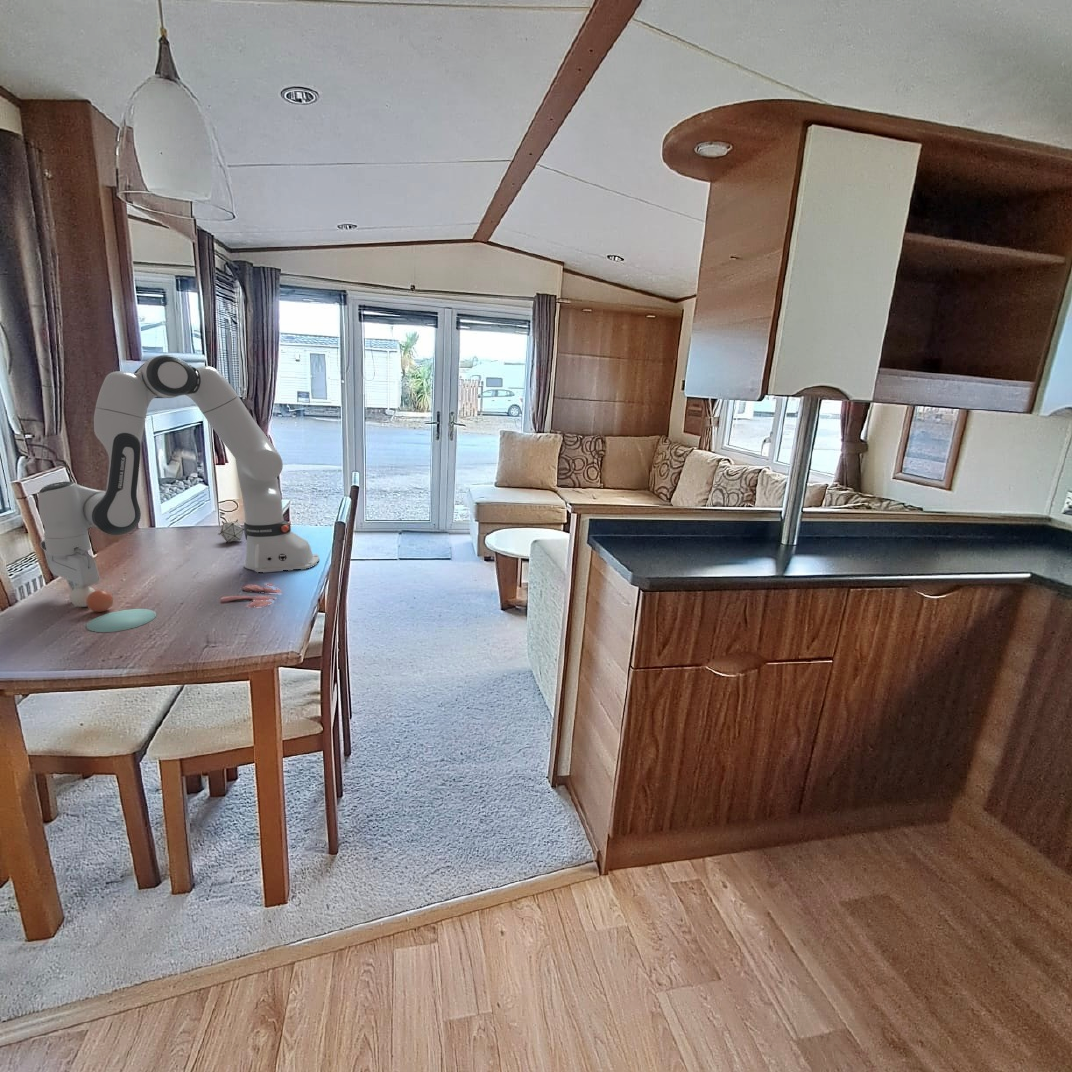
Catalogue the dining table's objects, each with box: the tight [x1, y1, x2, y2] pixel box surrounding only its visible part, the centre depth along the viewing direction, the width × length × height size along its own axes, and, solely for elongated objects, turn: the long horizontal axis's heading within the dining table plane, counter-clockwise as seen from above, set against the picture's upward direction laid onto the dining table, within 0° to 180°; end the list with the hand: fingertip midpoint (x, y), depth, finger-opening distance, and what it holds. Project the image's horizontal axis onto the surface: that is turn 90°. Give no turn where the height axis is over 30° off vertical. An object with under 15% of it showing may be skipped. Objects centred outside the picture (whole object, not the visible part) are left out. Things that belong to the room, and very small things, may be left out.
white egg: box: [69, 586, 96, 608], centre depth 149 cm, size 6×6×6 cm
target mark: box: [86, 608, 157, 633], centre depth 141 cm, size 14×14×1 cm
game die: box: [217, 519, 244, 545], centre depth 209 cm, size 9×8×10 cm
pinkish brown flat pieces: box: [220, 582, 283, 608], centre depth 160 cm, size 20×22×2 cm
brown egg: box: [86, 589, 114, 613], centre depth 146 cm, size 6×6×6 cm
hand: (78, 595), depth 152 cm, fingers closed
